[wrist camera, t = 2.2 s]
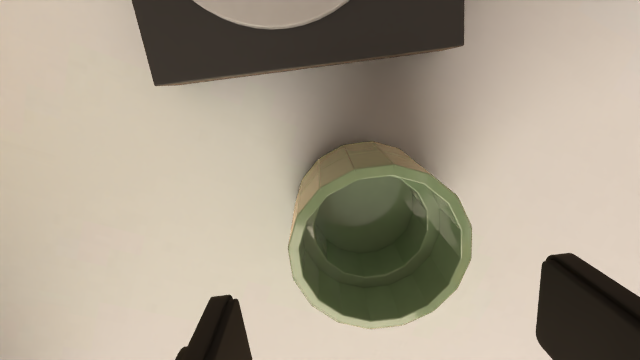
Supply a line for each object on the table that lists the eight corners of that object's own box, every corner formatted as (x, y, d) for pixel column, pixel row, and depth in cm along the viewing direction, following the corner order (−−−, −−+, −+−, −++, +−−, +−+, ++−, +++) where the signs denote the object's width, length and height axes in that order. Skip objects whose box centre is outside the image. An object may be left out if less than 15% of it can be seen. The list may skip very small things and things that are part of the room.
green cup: (426, 132, 17) (473, 154, 12) (429, 255, 19) (470, 318, 14) (287, 149, 17) (275, 178, 12) (306, 269, 19) (302, 337, 14)
